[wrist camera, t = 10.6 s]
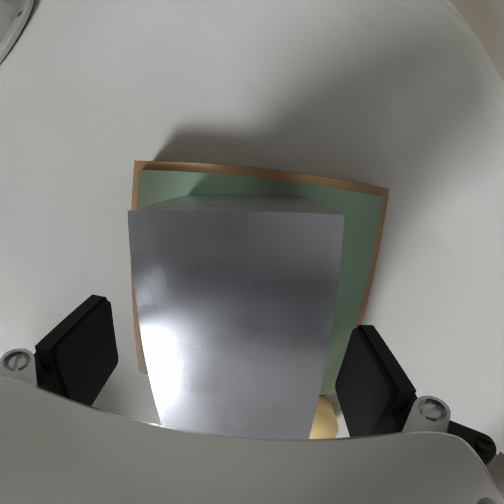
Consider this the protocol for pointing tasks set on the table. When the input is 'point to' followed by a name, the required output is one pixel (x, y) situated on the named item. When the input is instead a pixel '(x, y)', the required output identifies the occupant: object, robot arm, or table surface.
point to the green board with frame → (284, 184)
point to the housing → (236, 309)
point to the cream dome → (324, 421)
